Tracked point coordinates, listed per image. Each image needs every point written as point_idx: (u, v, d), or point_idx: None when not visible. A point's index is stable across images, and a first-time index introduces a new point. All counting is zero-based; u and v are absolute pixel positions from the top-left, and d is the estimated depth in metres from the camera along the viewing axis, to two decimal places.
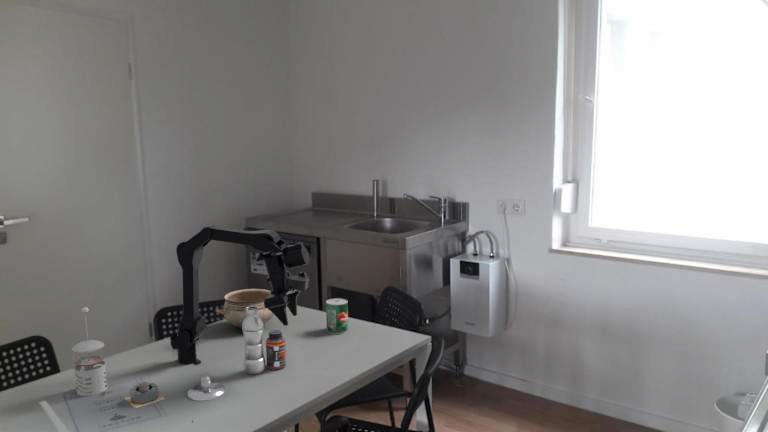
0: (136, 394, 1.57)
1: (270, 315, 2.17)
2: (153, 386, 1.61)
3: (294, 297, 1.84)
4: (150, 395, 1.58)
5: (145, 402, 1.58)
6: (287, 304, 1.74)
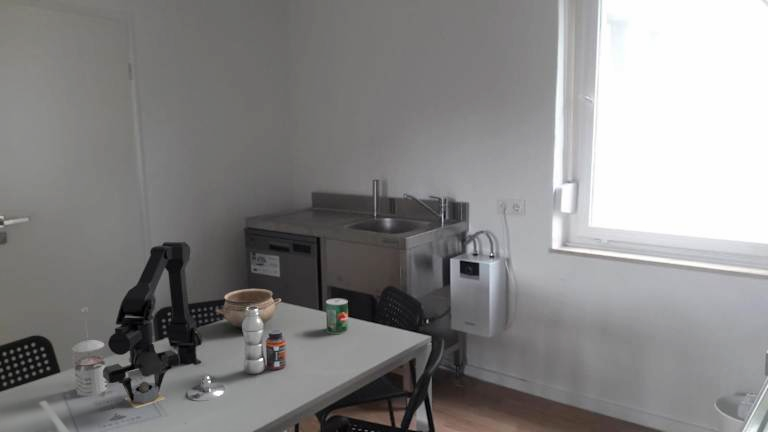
0: (136, 394, 1.57)
1: (270, 315, 2.17)
2: (153, 386, 1.61)
3: (159, 373, 1.61)
4: (150, 395, 1.58)
5: (145, 402, 1.58)
6: (129, 381, 1.55)
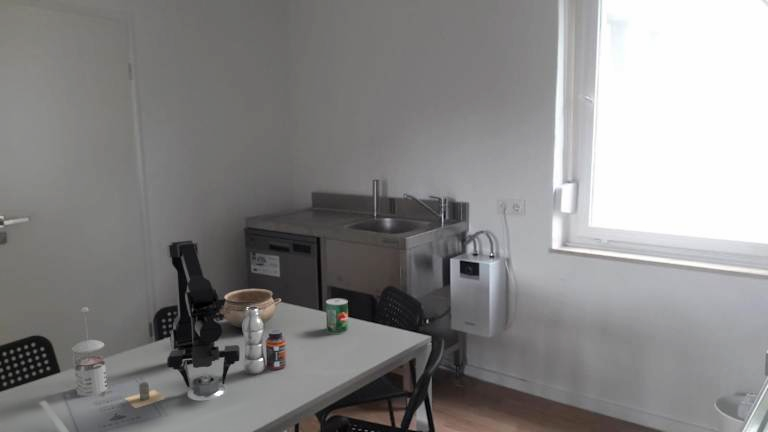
0: (194, 385, 1.61)
1: (270, 315, 2.17)
2: (214, 380, 1.63)
3: (223, 366, 1.63)
4: (206, 389, 1.61)
5: (201, 394, 1.61)
6: (183, 369, 1.60)
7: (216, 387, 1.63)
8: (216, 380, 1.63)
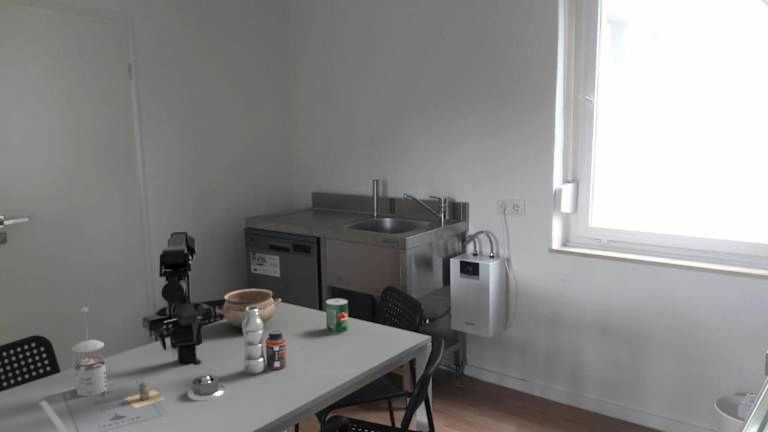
0: (194, 385, 1.61)
1: (270, 315, 2.17)
2: (214, 380, 1.63)
3: (197, 323, 1.71)
4: (206, 389, 1.61)
5: (201, 394, 1.61)
6: (163, 331, 1.63)
7: (216, 387, 1.63)
8: (216, 380, 1.63)
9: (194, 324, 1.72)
